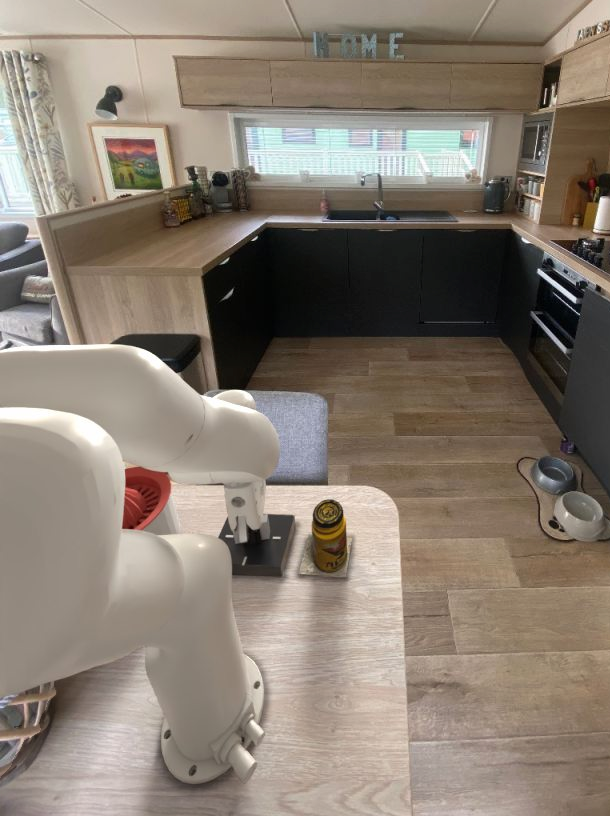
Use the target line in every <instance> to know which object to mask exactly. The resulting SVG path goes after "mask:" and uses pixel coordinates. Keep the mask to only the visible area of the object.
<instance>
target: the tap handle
mask: <svg viewBox="0 0 610 816" xmlns="http://www.w3.org/2000/svg"><path fill="white" fill-rule="evenodd" d="M264 514H265V515H263V520H262V524H261V526H260V534H261V540H264V539H269V538H270V526H269V520H268V514H269V513H264ZM233 534H234V539H235V544H238V543H240V541H239V527H238V525H237V530H236V531H235V533H234V532H233Z"/></svg>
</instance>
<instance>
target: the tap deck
mask: <svg viewBox="0 0 610 816" xmlns="http://www.w3.org/2000/svg"><path fill="white" fill-rule="evenodd" d="M265 514H266V513H263V515H265ZM267 514H268V520H269V526H270V538H269V539H264V540H261V542H260V543H257V544H253V545H243V544H242V543H238V544H235V539H234V534H233V531H232V530H231V528H230V525H229V520H228V516H227V517H226V519H225V521H224V523H223V526H222V527H221V530H220V532H219V535H218V537H217V538H219V539H221V540H223V541H224V542H225V543H226V545H227V546H228V548H229V550H230V554H231V559H232V576H240V577H241V576H243V577H244V576H246V577H265V578H266V577H268V578H270V577H272V578H282V577H283V575H284V572H285V569H286V564H287V560H288V557H289V552H290V548H291V545H292V541H293V537H294V533H295V529H296V526H297V525H296V517H295V514H284V513H283V514H280V513H267Z"/></svg>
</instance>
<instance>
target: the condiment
mask: <svg viewBox="0 0 610 816" xmlns="http://www.w3.org/2000/svg"><path fill="white" fill-rule="evenodd" d="M352 541H353V538H352V537H347V519H346V517H345V515H344V508H343V505H342V504H341V503H340V502H339V501H338V500H335V499H333V498H332V499H329V498H327V499H323V500H321V501H320V502H319V503H318V504H316V505H315V506H314V509H313V510H312V521H311V534H308V536H307V540H306V544H305V548H304V551H303V556H302V560H301V563H300V567H299V571H298V575H311V576H321V577H330V578H331V577H334V578H347V574H348V568H349V560H350V554H351V547H352Z"/></svg>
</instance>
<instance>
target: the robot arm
mask: <svg viewBox="0 0 610 816" xmlns="http://www.w3.org/2000/svg"><path fill="white" fill-rule="evenodd" d="M280 454H281V443H280V438H279V435H278V432H277V430H276V428H275V426H274V425H273V423H272V421H270V419H269V418H268V417H267V416H266V415H265V414H263V413H262V412H260V411H258V410H257V406H256V401H255V399H254V396H252V395H251V393H249V392H247V391H245V390H241V389H229V390H225V391H222V392H219V393H217V394H215V395H214V396H213V397H211V396H205V395H201V394H200V393H199V392H198V391H197V390H196V389H195V388H193V387H191V386H190V385H189V384H188V383H187V382H186V381H185V380H183V378H182V377H181V376H180V375H179V374H177V373H176V372H175V371H174V370H173V369H172V368H171V367H170V366H169V365H167V364H166V363H165V362H163V360H161V359H160V358H159V357H158V356H157V355H155V354H153V353H152V352H150V351H148V350H146V349H143V348H140V347H136V346H133V345H126V344H115V343H114V344H113V343H112V344H111V343H109V344H108V343H106V344H105V343H102V344H101V343H100V344H74V345H73V344H72V345H69V344H66V345H31V346H18V347H12V348H6V349H2V350H0V699H2V698H6V697H10V696H14V695H18V694H20V693H24V692H26V691H29V690H31V689H34V688H37V687H39V686H43V685H45V684H48V683H52V682H56V681H59V680H63V679H66V678H68V677H71V676H74V675H76V674H80V673H82V672H85V671H87V670H90V669H93V668H96V667H100V666H104V665H107V664H108V665H109V664H110V663H113V662H115V661H118V660H120V659H123V658H125V657H126V656H128V655H130V654H131V653H133V652H135V651H137V650H139V649H140V648H146V649H145V656H144V665H145V666H144V667H145V673H146V676H147V679H148V682H149V684H150V686H151V688H152V691H153V692H154V695H155V697H156V700H157V702H158V704H159V706H160V709H161V711H162V713H163V720H162V724H161V731H160V747H161V755H162V757H163V760H164V764H165V766H166V767H167V769H168V771H169V772H170V773H171V775H173V777H174V778H175V779H177V780H179V781H181V782H182V783H185V784H191V785H196V784H197V785H198V784H204V783H207V782H210V781H212V780H213V781H214V780H215V779H217V778H218V777H220V776H222V775H224V774H225V773H226V772H227V771H229V769H230V768H233V771H234V773H235V774H236V775H237V777H238V778H239V779H240V780H241V782H242V783H243V784H247V783H248V782H249V781H250V780H251V778H252V776H253V775H254V773H255V771H256V768H257V767H258V762H257V761H256V759H255V757H253V756H252V754H251V753H250V752H249V750H247V749H248V748H249V746H250V744H251V743H253V745H255V746H256V747H259V745H261V743H262V742H263V740H264V738H265V736H266V732H265V731H264V730H263V728H262V727H261V726H260V722H261V719H262V715H263V709H264V706H265V689H264V687H265V686H264V681H263V677H262V673H261V670H260V669H259V667H258V665H257V664H256V663H255V661H254V660H253V659H252V658H251V657H249V656H248V655H247V654H244V651H243V646H242V641H241V638H240V632H239V628H238V625H237V621H236V617H235V612H234V607H233V606H234V605H233V599H232V598H233V597H232V584H233V583H232V582H233V575H232V559H231V554H230V550H229V548H228V546H227V545H226V543H225V542H224V541H223V540H221V539H219V538H218V537H217V536H214V535H211V534H205V533H181V534H170V535H155V534H153V533H149V532H145V531H141V530H131V529H122V523H123V511H124V497H125V469H126V468H125V463H128V464H131V465H134V466H136V467H143V468H145V469H149V470H152V471H158V472H164V473H167V475H168V477H169V478H170V480H171V481H172V482H174V483H176V484H177V485H183V486H199V485H217V484H223V491H224V493H223V494H224V500H225V508H226V515H227V517H228V520H229V525H230V528H231V530H232V531H233V532H234V533H235V531H236V530H237V525H238V527H239V541H240V543H242V544H243V545H253V544H257V543H260V542H261V534H260V526H261V524H262V520H263V514H264V511H265V504H266V494H267V483H266V480H267V479H269V478H270V477H271V476H272V475H273V474H274V472H275V471H276V469H277V466H278V464H279V462H280V461H279V459H280ZM124 462H125V463H124ZM194 772H195V773H194ZM193 773H194V774H193Z"/></svg>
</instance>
